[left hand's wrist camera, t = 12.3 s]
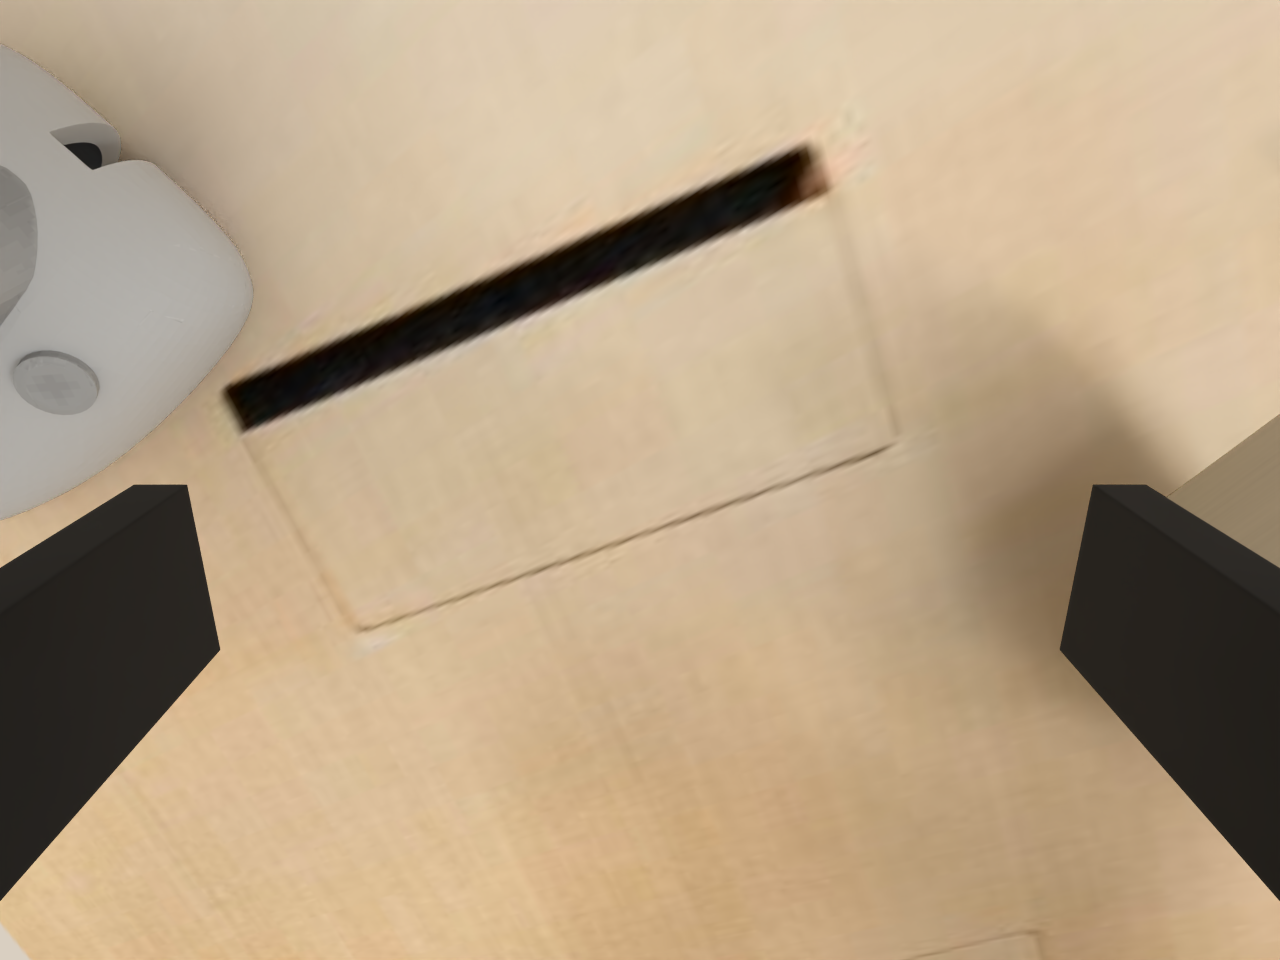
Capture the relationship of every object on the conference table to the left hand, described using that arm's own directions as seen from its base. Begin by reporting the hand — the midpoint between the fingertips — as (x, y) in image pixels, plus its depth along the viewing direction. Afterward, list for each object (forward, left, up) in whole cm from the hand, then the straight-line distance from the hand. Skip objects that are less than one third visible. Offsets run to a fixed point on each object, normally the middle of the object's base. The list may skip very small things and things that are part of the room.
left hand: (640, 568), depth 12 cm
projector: (+9, -28, -31) cm, 43 cm away
